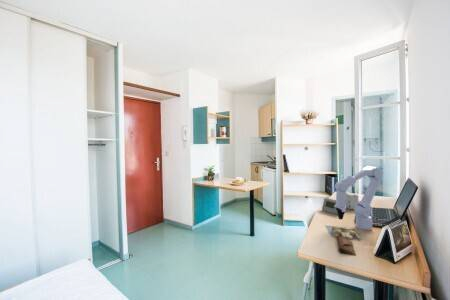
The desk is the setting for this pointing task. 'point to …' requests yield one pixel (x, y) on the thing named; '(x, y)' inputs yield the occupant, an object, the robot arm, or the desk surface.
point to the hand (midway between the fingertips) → (340, 219)
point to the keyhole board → (341, 231)
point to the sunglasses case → (345, 246)
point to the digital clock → (329, 205)
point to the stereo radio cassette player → (351, 200)
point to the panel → (345, 232)
